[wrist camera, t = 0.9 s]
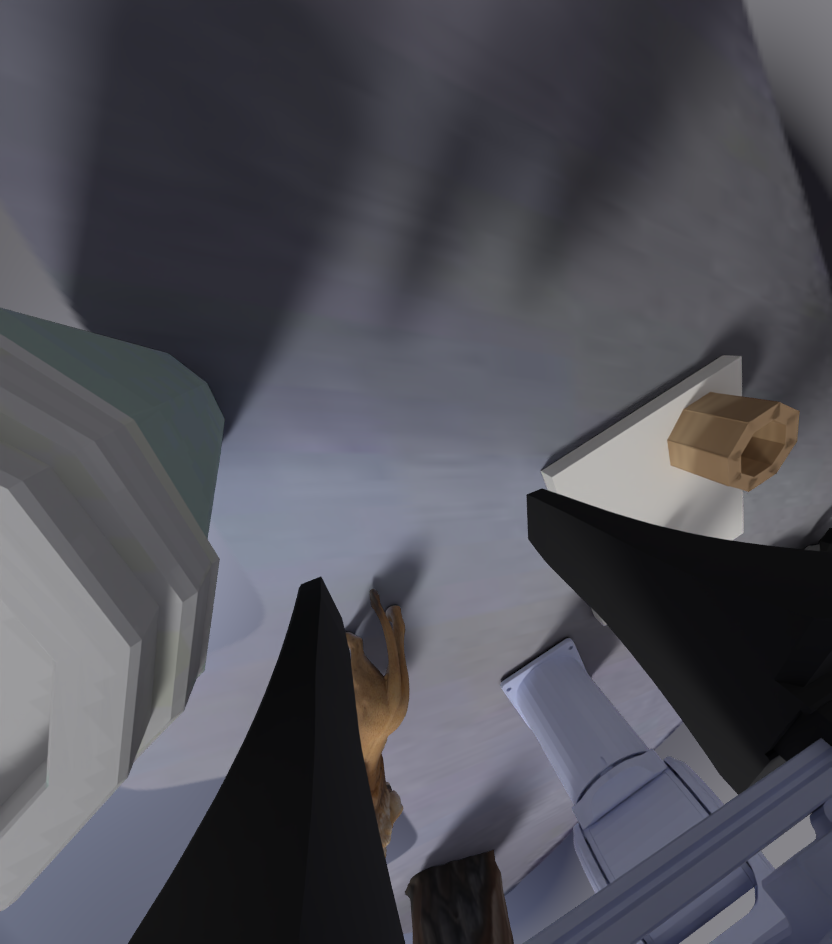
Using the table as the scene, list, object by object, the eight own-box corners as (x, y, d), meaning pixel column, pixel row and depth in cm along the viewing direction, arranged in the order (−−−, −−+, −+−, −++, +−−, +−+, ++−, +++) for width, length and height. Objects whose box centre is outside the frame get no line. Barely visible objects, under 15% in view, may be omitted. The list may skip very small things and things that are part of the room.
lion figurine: (382, 721, 29) (409, 868, 21) (318, 733, 27) (321, 899, 19) (405, 580, 24) (453, 704, 16) (328, 585, 22) (339, 726, 14)
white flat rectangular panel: (729, 526, 33) (743, 532, 32) (594, 616, 32) (604, 626, 31) (722, 355, 24) (741, 356, 23) (540, 471, 24) (551, 477, 23)
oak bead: (730, 443, 26) (795, 460, 23) (672, 481, 26) (729, 504, 23) (728, 379, 24) (801, 387, 20) (664, 421, 24) (726, 436, 20)
